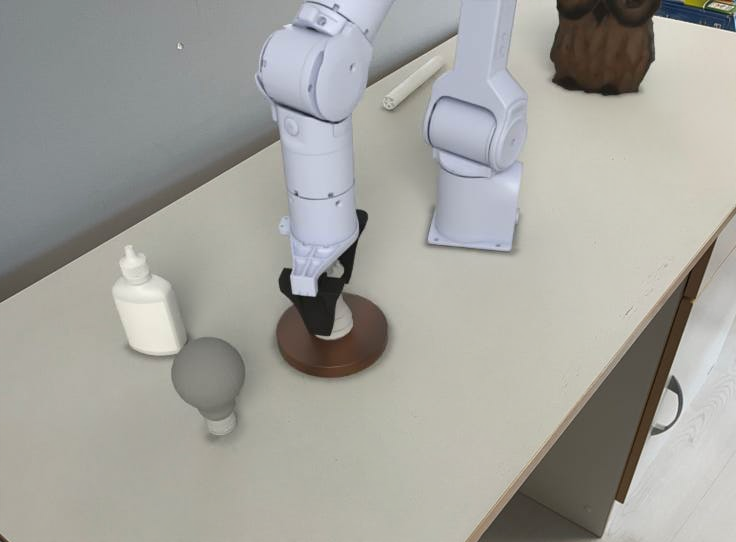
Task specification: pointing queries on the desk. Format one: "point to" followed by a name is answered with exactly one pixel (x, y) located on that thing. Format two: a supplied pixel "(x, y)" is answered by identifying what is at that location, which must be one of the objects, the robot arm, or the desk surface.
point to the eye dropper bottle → (147, 308)
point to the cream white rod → (413, 82)
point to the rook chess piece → (339, 308)
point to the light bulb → (210, 380)
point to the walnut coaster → (334, 341)
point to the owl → (603, 45)
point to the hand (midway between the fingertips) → (330, 306)
